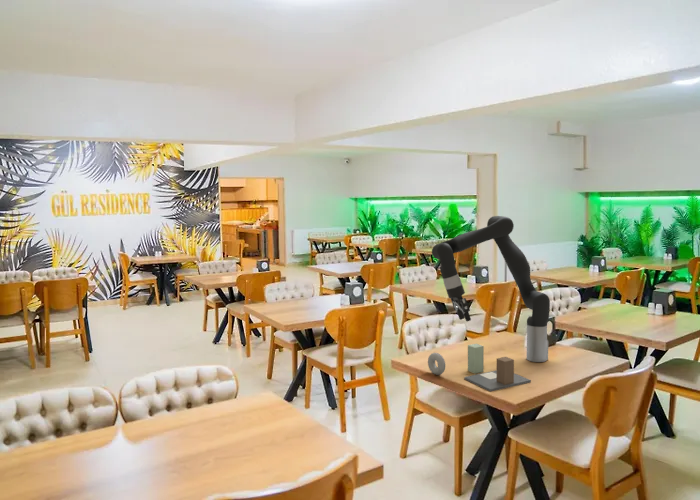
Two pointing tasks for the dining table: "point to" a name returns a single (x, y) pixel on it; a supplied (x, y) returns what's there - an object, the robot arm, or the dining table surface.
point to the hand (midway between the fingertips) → (465, 319)
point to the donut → (433, 366)
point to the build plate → (494, 381)
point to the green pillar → (475, 358)
